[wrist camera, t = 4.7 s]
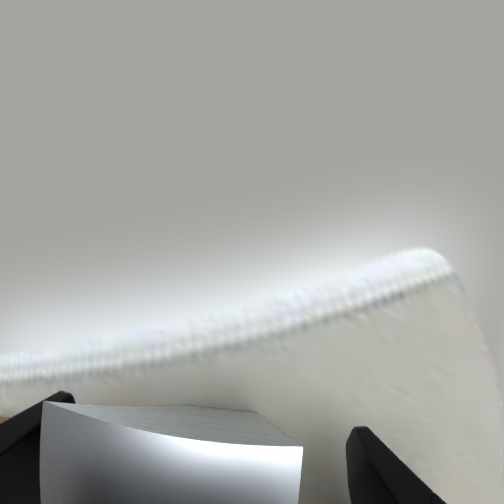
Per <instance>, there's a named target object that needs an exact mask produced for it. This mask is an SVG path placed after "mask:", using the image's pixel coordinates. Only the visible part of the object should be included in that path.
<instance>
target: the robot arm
mask: <svg viewBox="0 0 504 504" xmlns="http://www.w3.org/2000/svg"><path fill="white" fill-rule="evenodd" d="M43 401H50V402H60V403H71V404H76V403H75V400H74V397H73V395H72V394H71V393H68V392H65V391H59V392H57V393H55V394H53V395H52V396H50V397H48V398H46V399H44V400H43ZM43 401H41V402H39V403H37V404H35V405H33V406H32V407H30V408H28V409H26V410H24V411H22V412H21V413H19V414H17V415H15V416H13V417H11V418H10V419H8V420H6V421H4V422H2V423H0V504H41V496H40V437H41V421H42V409H43ZM346 460H347V475H348V488H349V494H350V499H351V504H447V503H445V502H444V501H443V500H442V499H441V498H440V497H439V496H438V495H437V494H435V493H433V491H432V490H431V489H430V488H429V487H428V486H427V485H426V484H425V483H424V482H423V481H422V480H421V479H420V478H419V477H417V476H416V475H415V474H414V473H413V472H412V471H411V470H410V469H409V468H408V467H407V466H406V465H405V464H404V463H403V462H402V461H401V460H400V459H399V458H398V457H397V456H396V455H395V454H394V453H393V452H392V451H391V450H390V449H389V448H388V447H387V446H386V445H385V444H384V443H383V442H382V441H381V440H380V439H379V438H378V437H377V436H376V435H375V434H374V433H373V432H372V431H371V430H370V429H369V428H368V427H366V426H358V427H354V428H353V429H352V431H351V433H350V436H349V438H348V440H347V442H346Z"/></svg>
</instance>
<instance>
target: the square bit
mask: <svg viewBox="0 0 504 504" xmlns="http://www.w3.org/2000/svg"><path fill="white" fill-rule="evenodd" d="M302 456H303V446H302V445H300V444H299V443H297V442H296V441H294V440H293V439H292V438H290V437H289V436H288V435H286V434H285V433H283V432H282V431H281V430H279V429H278V428H277V427H275V426H274V425H273V424H271V423H270V422H269V421H267V420H266V419H265V418H263V417H262V416H261V415H260V414H258V413H257V412H253V411H239V410H228V409H218V408H209V407H201V406H193V405H164V406H107V405H86V404H71V403H60V402H50V401H43V409H42V421H41V437H40V496H41V504H298V498H299V488H300V478H301V467H302Z"/></svg>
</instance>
